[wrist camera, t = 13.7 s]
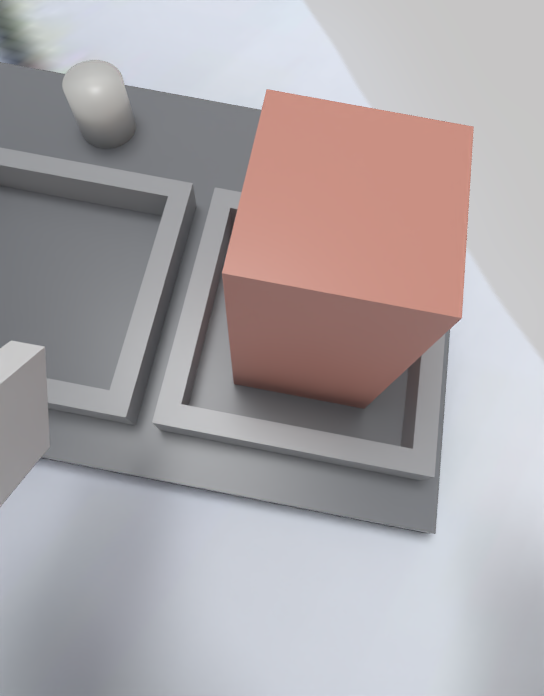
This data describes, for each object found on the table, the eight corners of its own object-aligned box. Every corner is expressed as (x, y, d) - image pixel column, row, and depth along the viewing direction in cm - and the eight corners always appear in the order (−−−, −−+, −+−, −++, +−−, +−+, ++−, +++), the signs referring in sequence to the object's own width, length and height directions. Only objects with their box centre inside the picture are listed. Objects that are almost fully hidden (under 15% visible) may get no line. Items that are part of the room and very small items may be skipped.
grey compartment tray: (-408, 369, 19) (-543, 339, 16) (-190, 43, 24) (-257, -29, 21) (425, 532, 18) (463, 536, 15) (454, 161, 24) (486, 105, 21)
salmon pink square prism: (233, 383, 19) (221, 273, 10) (258, 268, 20) (266, 89, 12) (364, 408, 19) (461, 318, 10) (378, 290, 20) (473, 126, 12)
